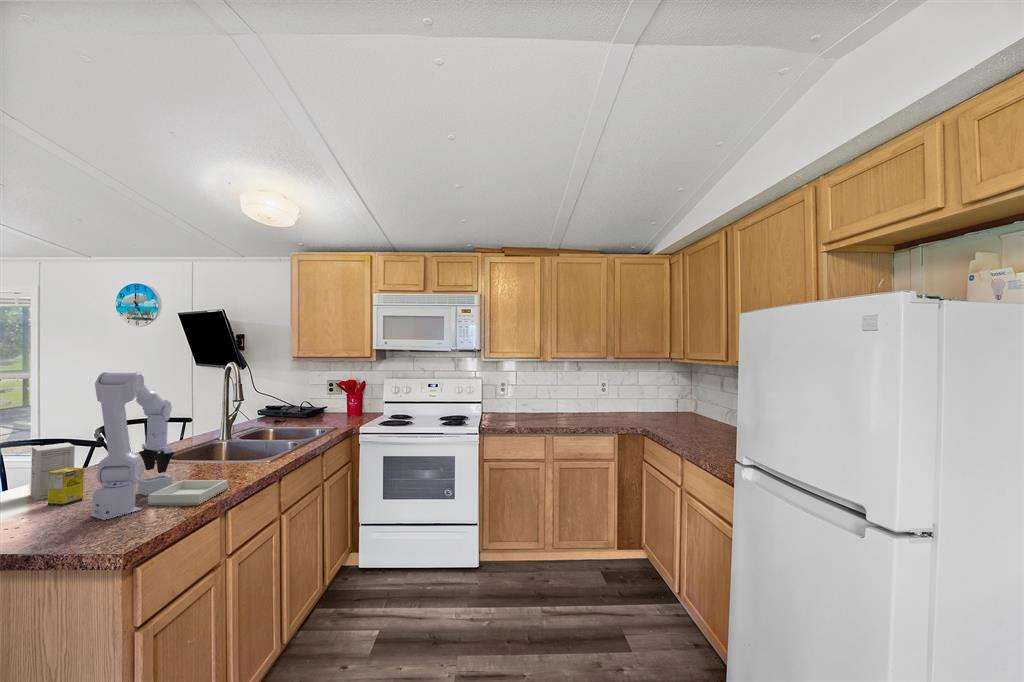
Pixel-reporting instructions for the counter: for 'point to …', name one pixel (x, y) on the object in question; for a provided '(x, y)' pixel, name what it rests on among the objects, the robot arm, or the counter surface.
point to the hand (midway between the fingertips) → (155, 471)
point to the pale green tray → (188, 492)
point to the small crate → (153, 484)
